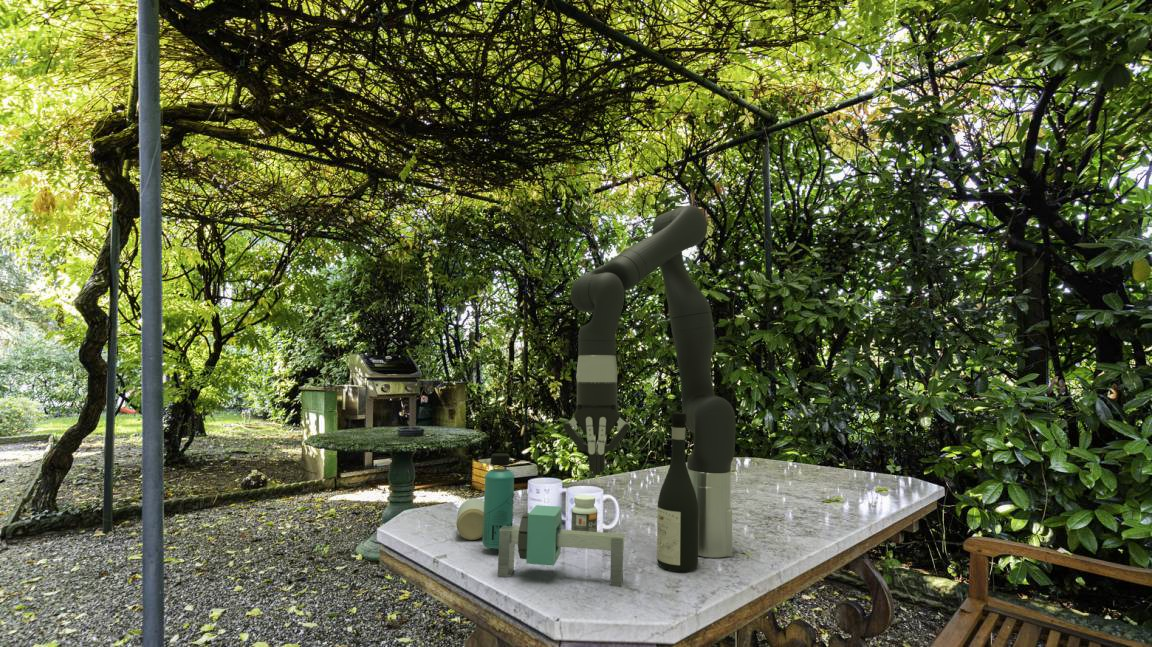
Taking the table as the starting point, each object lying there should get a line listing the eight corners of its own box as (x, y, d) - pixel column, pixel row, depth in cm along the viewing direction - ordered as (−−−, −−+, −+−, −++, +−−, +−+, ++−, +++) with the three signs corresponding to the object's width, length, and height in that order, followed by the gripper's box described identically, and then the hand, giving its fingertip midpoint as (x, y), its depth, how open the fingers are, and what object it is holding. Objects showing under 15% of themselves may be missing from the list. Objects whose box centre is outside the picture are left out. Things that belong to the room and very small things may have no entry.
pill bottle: (594, 547, 121) (595, 500, 122) (568, 545, 122) (569, 498, 123) (598, 540, 126) (599, 495, 127) (573, 538, 128) (574, 493, 129)
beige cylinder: (454, 542, 122) (457, 506, 123) (456, 531, 130) (458, 497, 131) (503, 542, 124) (505, 506, 125) (502, 531, 132) (504, 498, 133)
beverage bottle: (487, 557, 112) (491, 456, 114) (476, 548, 118) (480, 452, 120) (517, 553, 115) (520, 455, 117) (506, 544, 121) (509, 450, 123)
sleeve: (560, 552, 107) (561, 506, 107) (553, 565, 100) (555, 516, 100) (534, 551, 107) (536, 505, 108) (526, 563, 100) (527, 514, 101)
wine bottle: (671, 575, 105) (672, 414, 108) (649, 562, 113) (651, 411, 115) (706, 570, 109) (707, 414, 111) (682, 557, 116) (684, 411, 118)
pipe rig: (623, 578, 103) (624, 532, 104) (622, 586, 99) (623, 538, 100) (502, 568, 106) (504, 523, 107) (496, 576, 102) (498, 529, 103)
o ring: (535, 550, 108) (536, 510, 108) (526, 563, 100) (527, 520, 101) (526, 550, 108) (528, 509, 109) (517, 563, 100) (518, 519, 101)
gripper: (633, 380, 108) (633, 472, 106) (564, 379, 109) (564, 470, 108) (631, 380, 100) (632, 479, 99) (558, 380, 102) (558, 477, 100)
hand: (596, 474), depth 103 cm, fingers closed
